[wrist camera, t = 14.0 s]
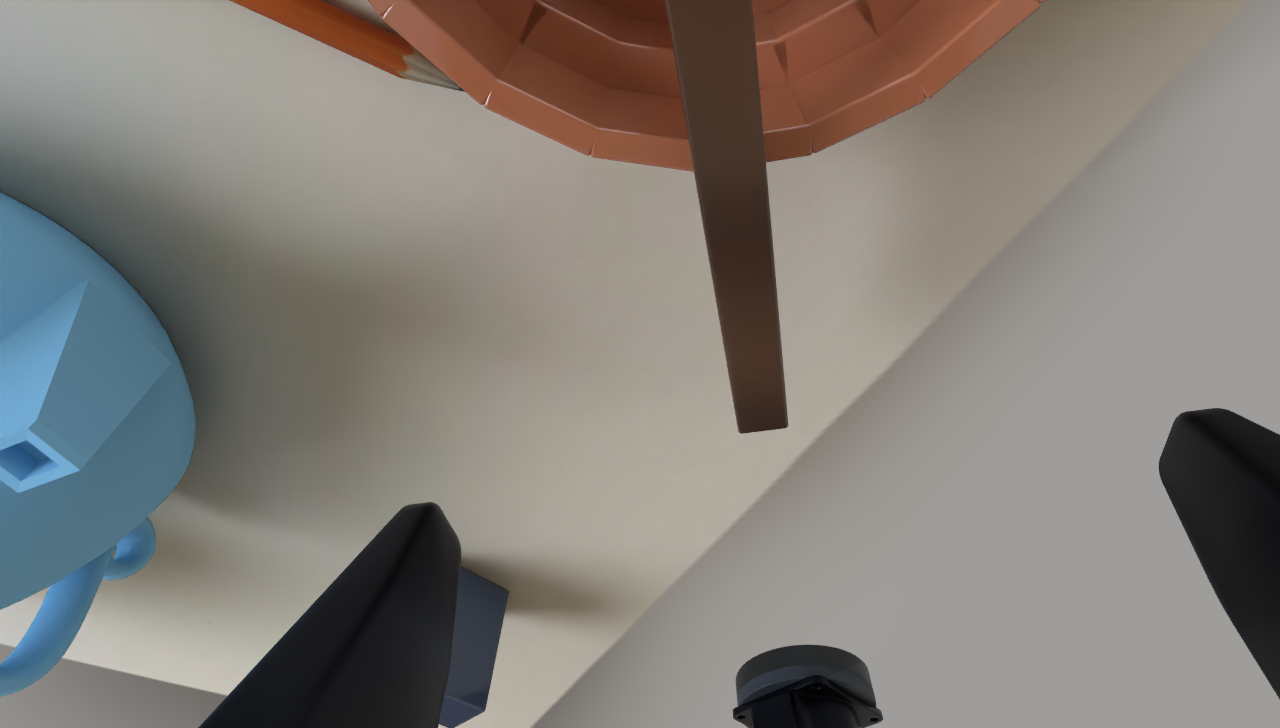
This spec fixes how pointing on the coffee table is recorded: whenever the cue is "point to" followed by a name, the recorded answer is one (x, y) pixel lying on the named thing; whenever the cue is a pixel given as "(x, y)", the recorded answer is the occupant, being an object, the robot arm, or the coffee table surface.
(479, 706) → the slate blue rectangular block
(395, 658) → the robot arm
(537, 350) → the coffee table surface
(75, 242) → the teapot
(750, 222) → the brown round-ended long piece
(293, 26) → the pencil
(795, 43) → the bowl
